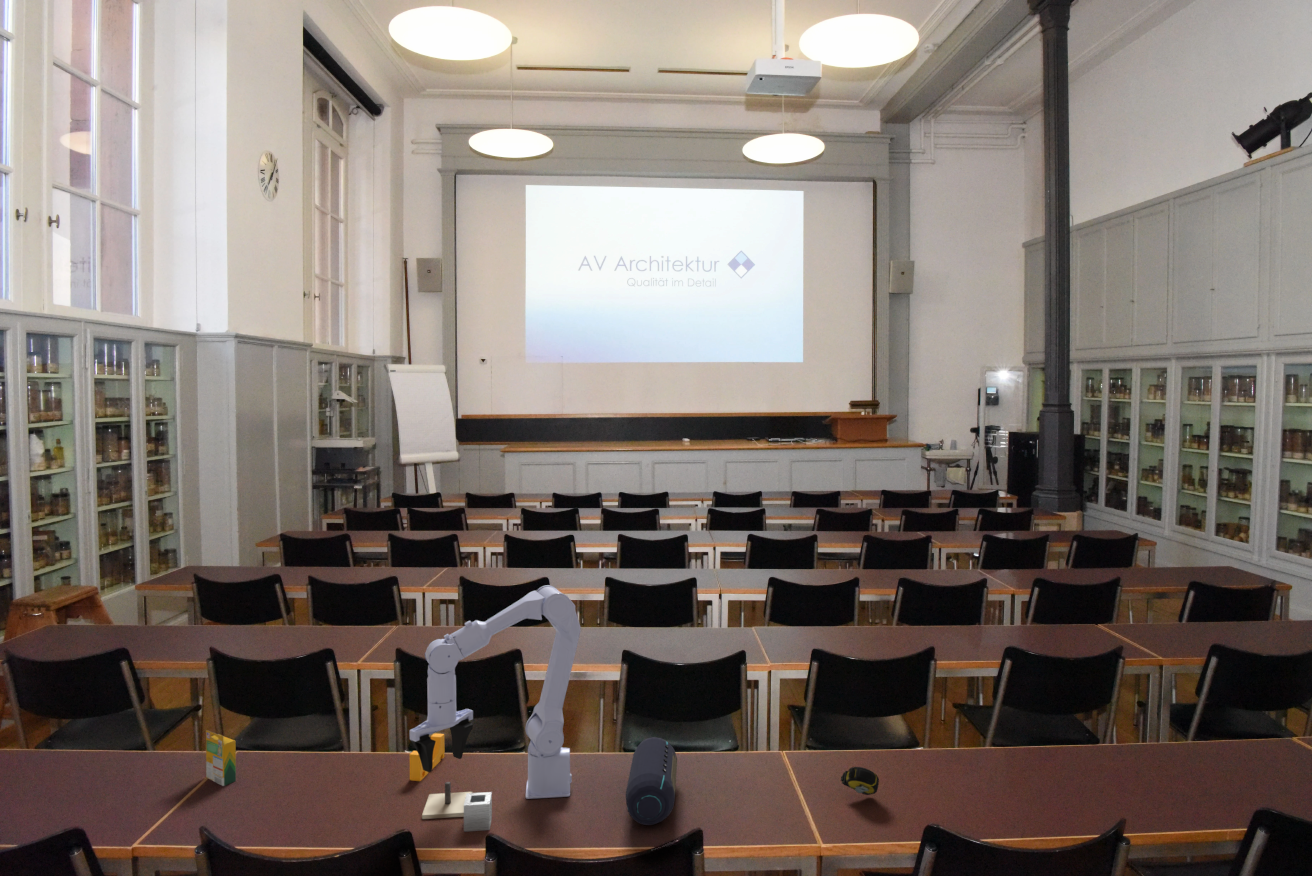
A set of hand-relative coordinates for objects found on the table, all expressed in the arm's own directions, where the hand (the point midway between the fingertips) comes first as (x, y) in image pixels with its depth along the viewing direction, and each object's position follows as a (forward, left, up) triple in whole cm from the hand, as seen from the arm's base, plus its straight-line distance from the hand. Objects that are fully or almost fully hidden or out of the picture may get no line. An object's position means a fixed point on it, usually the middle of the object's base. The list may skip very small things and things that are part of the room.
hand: (442, 763), depth 162 cm
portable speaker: (-44, +2, -10) cm, 45 cm away
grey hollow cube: (-8, +7, -10) cm, 14 cm away
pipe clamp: (+7, -19, -10) cm, 23 cm away
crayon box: (+51, -19, -10) cm, 56 cm away
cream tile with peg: (-1, -1, -10) cm, 10 cm away
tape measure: (-88, +6, -10) cm, 89 cm away
